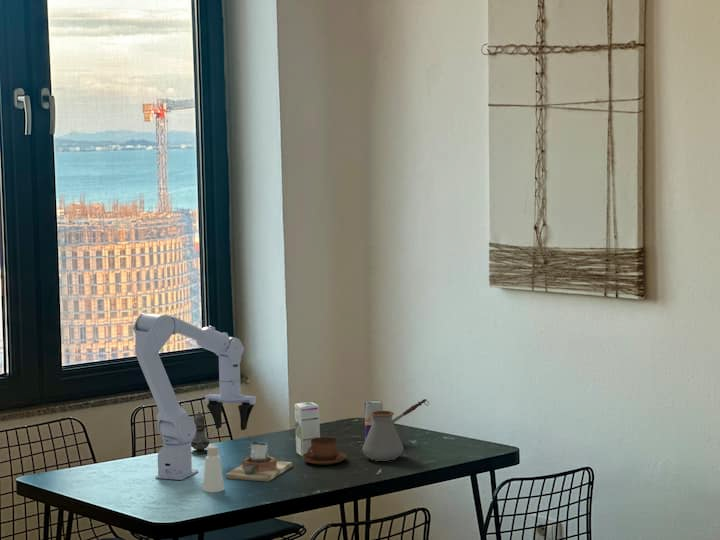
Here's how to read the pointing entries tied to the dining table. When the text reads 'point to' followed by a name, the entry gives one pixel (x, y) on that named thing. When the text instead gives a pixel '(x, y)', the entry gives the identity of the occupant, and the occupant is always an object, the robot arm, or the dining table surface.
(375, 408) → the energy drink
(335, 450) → the cup and saucer
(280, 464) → the coupling stand
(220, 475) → the white squeeze bottle
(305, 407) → the syrup box
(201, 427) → the grey flanged cylinder
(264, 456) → the cylinder
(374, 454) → the coffee pot
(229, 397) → the robot arm
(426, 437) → the dining table surface
